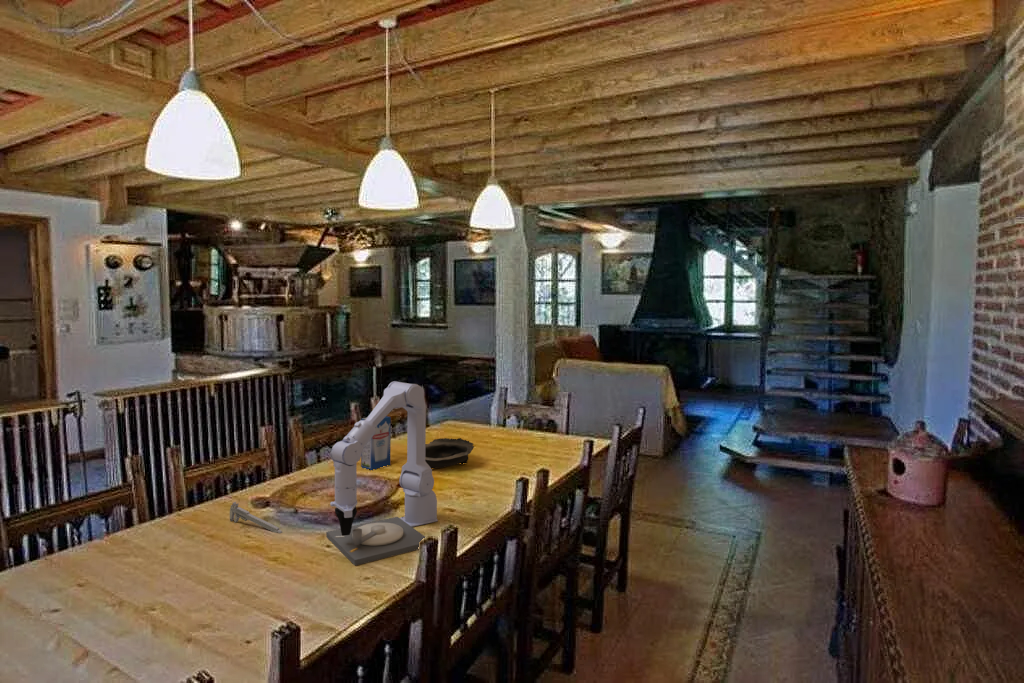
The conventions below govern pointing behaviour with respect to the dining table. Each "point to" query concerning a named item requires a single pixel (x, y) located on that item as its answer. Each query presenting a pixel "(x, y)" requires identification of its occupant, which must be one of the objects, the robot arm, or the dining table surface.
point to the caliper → (250, 518)
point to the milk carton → (378, 446)
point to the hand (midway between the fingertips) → (345, 534)
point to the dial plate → (372, 553)
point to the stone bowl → (447, 452)
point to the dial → (377, 534)
